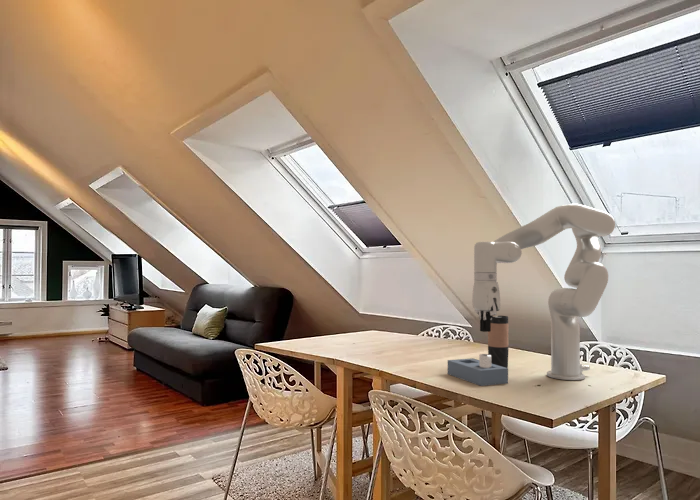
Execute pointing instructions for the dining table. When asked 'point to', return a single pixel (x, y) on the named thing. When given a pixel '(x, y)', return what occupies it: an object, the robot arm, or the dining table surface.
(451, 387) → the dining table surface
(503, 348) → the travel mug
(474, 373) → the block
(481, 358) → the bushing
